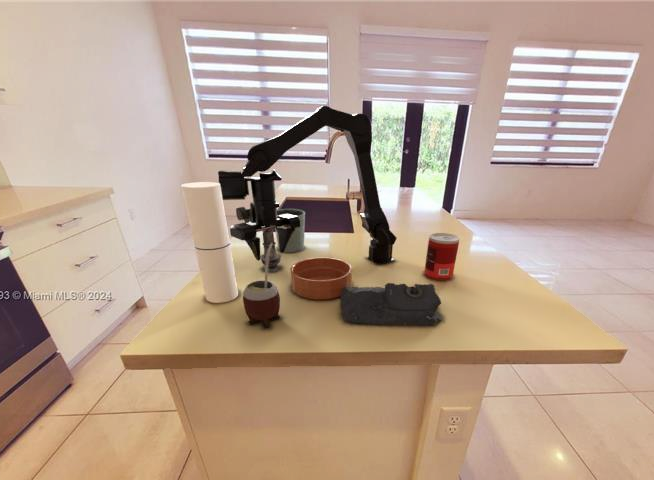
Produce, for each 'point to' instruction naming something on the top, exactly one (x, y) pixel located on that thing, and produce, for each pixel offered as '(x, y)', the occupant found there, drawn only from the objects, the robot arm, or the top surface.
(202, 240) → the cylindrical container
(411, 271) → the top surface
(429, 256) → the canned food
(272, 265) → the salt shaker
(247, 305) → the mate gourd
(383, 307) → the dark slate chunk
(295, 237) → the green cup
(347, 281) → the bowl
